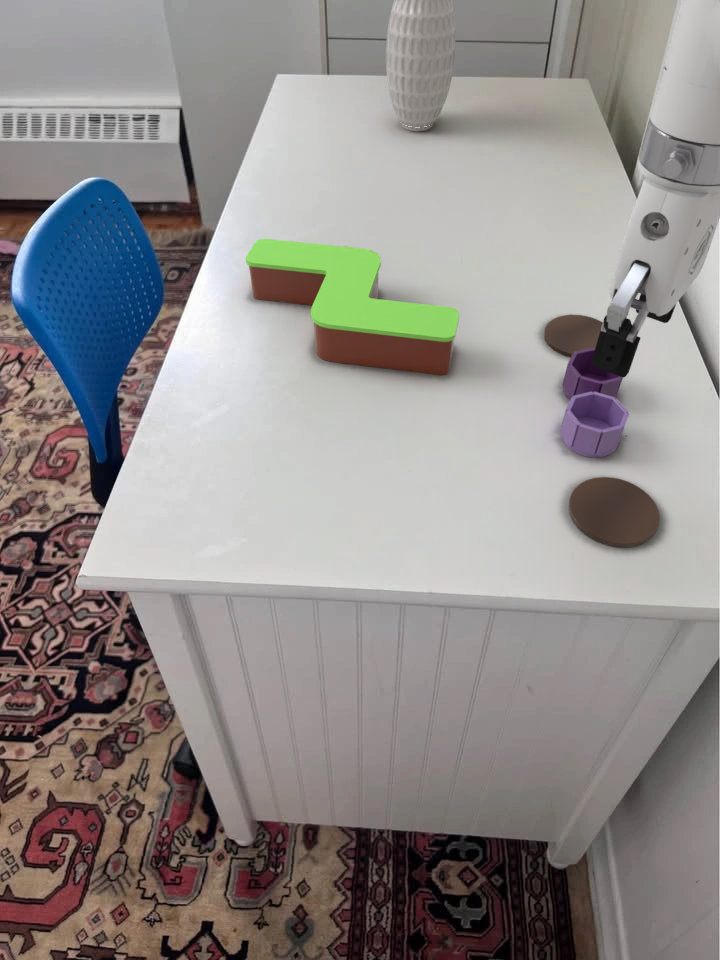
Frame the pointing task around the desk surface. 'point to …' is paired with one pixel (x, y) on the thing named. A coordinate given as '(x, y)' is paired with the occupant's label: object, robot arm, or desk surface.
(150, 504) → the desk surface
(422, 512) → the desk surface
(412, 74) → the vase
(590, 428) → the dish lilac
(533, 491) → the desk surface
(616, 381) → the dish plum
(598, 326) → the coaster far
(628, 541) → the coaster near
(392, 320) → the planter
